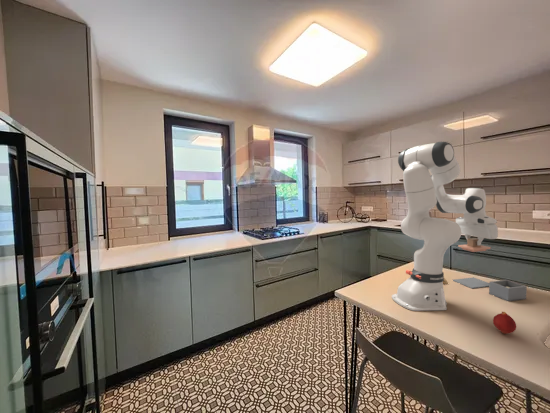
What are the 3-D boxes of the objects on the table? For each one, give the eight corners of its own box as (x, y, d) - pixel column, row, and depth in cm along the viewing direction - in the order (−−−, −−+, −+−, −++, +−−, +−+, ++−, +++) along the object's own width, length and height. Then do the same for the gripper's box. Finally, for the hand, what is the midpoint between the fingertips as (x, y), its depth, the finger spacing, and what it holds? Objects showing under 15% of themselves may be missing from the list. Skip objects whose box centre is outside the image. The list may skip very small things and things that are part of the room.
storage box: (508, 301, 104) (508, 288, 103) (489, 293, 112) (489, 281, 111) (526, 299, 105) (526, 286, 105) (506, 291, 113) (506, 279, 113)
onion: (503, 328, 85) (504, 307, 84) (520, 338, 79) (521, 315, 79) (488, 329, 85) (489, 308, 84) (504, 339, 79) (505, 316, 78)
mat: (472, 288, 118) (472, 287, 118) (452, 280, 129) (452, 279, 129) (494, 285, 120) (494, 285, 120) (473, 278, 131) (473, 277, 131)
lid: (473, 252, 118) (473, 241, 118) (458, 248, 127) (458, 238, 126) (490, 251, 120) (490, 239, 119) (474, 247, 128) (474, 236, 128)
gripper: (451, 216, 132) (451, 240, 133) (490, 221, 112) (489, 249, 113) (460, 216, 133) (460, 239, 134) (500, 220, 113) (500, 248, 114)
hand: (473, 244), depth 123 cm, fingers closed on lid, 3 cm apart
